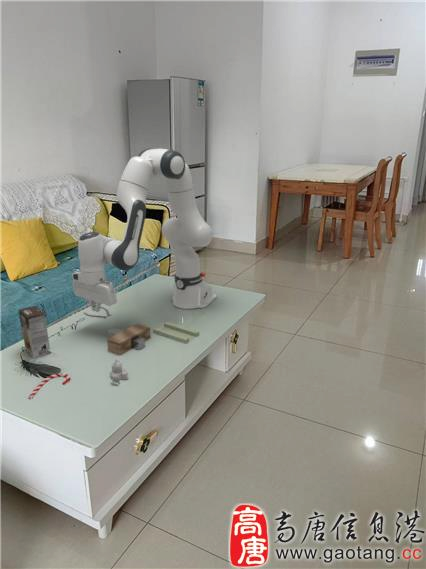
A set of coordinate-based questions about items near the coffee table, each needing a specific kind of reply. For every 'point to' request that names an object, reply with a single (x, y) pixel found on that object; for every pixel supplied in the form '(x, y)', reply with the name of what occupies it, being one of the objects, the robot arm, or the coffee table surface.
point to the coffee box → (34, 331)
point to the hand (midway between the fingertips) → (96, 310)
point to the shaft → (136, 341)
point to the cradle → (176, 332)
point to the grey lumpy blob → (118, 372)
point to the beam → (127, 338)
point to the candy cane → (48, 380)
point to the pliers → (100, 316)
